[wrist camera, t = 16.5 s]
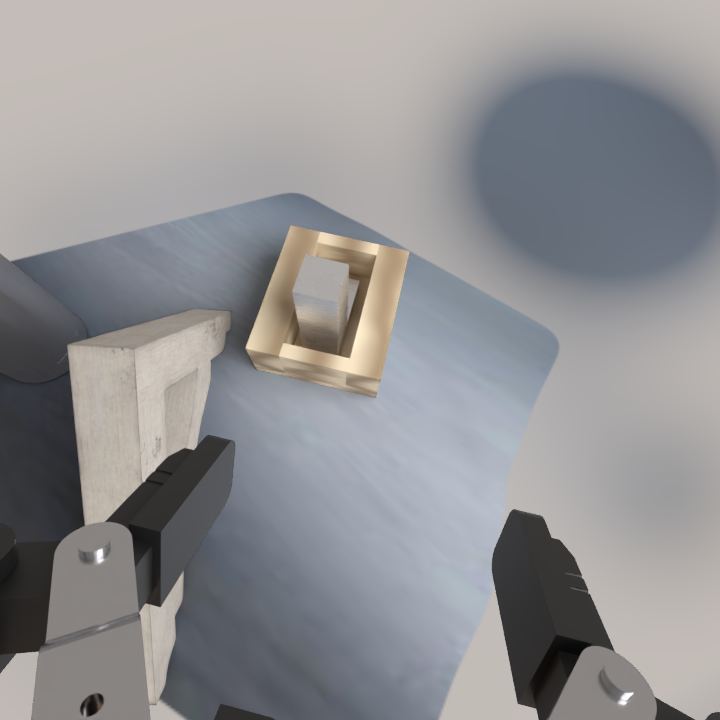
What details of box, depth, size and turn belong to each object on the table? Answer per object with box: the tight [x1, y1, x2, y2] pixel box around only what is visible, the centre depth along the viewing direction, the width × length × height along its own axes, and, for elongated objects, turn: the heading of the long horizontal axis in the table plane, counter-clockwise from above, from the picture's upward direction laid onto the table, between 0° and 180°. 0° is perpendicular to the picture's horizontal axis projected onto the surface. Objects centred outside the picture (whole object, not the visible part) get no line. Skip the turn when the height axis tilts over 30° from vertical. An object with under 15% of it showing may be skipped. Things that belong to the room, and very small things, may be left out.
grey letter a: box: [67, 309, 231, 705], centre depth 42 cm, size 22×4×30 cm
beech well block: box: [246, 226, 409, 397], centre depth 48 cm, size 14×16×6 cm
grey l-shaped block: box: [292, 254, 360, 356], centre depth 43 cm, size 4×10×13 cm, turn 166°
